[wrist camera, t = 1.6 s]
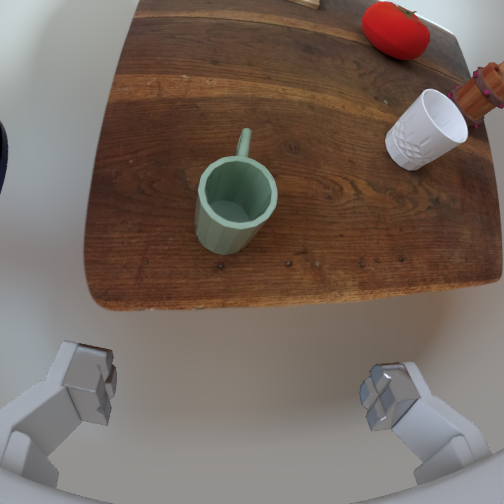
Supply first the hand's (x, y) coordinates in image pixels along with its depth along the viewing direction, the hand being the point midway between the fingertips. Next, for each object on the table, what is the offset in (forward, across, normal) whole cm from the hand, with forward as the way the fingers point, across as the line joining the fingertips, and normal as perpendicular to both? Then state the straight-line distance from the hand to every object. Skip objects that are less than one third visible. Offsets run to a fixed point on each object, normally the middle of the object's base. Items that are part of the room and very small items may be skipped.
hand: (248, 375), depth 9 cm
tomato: (+51, -25, -22) cm, 61 cm away
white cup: (+34, -24, -4) cm, 42 cm away
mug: (+45, -42, -15) cm, 63 cm away
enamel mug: (+25, 0, +5) cm, 25 cm away
